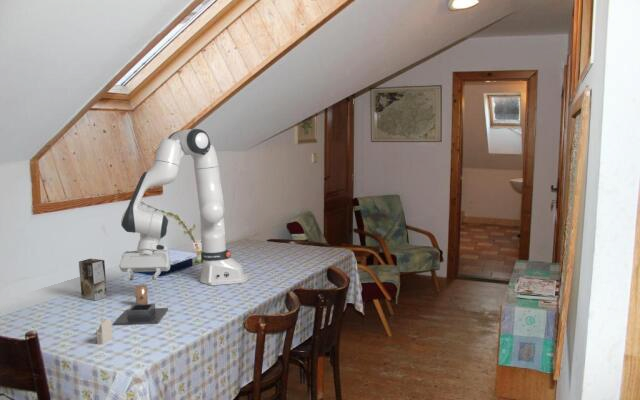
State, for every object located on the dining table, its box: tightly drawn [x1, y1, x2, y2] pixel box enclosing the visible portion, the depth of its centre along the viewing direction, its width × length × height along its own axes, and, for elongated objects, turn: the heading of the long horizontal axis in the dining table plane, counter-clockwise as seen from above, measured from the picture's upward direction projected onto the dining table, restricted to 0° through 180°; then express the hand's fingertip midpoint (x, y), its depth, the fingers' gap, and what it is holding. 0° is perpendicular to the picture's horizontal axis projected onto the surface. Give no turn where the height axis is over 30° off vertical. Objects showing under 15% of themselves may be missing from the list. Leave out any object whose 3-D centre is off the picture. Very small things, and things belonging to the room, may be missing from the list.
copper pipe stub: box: [134, 284, 149, 305], centre depth 225 cm, size 4×4×8 cm
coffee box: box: [78, 258, 108, 301], centre depth 238 cm, size 9×6×16 cm
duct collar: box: [112, 303, 169, 326], centre depth 211 cm, size 16×16×4 cm
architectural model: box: [92, 317, 114, 345], centre depth 188 cm, size 3×7×7 cm, turn 167°
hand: (142, 279), depth 229 cm, fingers open, 8 cm apart
